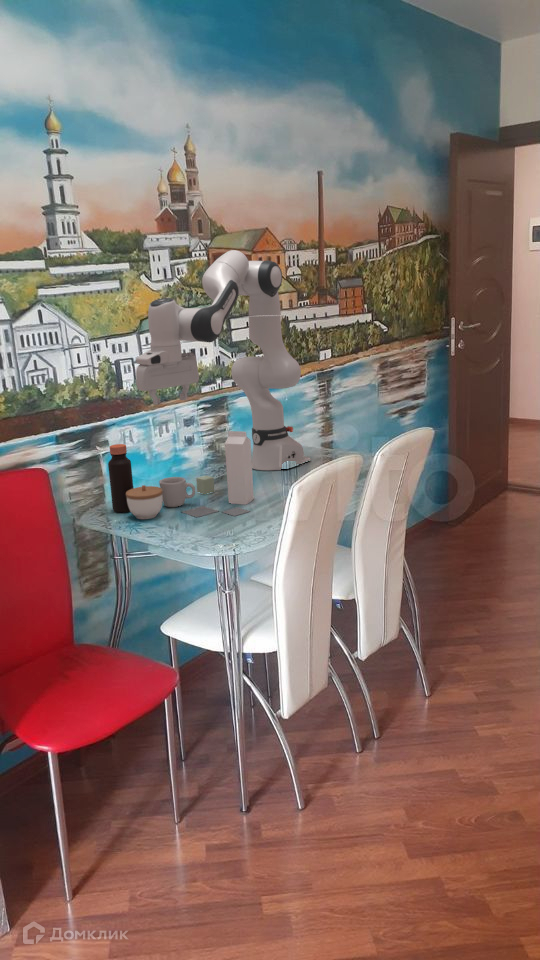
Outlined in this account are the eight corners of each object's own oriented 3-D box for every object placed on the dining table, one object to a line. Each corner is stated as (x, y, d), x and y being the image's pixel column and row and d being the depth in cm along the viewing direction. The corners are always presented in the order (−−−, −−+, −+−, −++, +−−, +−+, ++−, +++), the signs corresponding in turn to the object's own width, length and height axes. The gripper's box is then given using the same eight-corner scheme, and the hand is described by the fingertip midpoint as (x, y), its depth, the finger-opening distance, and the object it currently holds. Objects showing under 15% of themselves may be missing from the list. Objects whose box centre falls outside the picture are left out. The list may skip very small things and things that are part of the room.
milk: (236, 498, 259) (232, 429, 254) (254, 499, 257) (250, 429, 252) (228, 503, 254) (223, 433, 248) (246, 504, 252) (242, 433, 246)
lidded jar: (127, 523, 240) (124, 492, 237) (128, 512, 250) (125, 482, 248) (165, 519, 241) (162, 488, 239) (164, 509, 252) (161, 479, 249)
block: (207, 490, 270) (206, 475, 269) (214, 492, 267) (213, 477, 266) (197, 492, 268) (196, 478, 267) (204, 495, 265) (203, 480, 264)
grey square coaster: (237, 507, 249) (237, 507, 249) (250, 511, 245) (250, 511, 245) (221, 512, 245) (221, 511, 245) (234, 516, 241) (234, 515, 241)
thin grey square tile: (202, 506, 252) (202, 505, 252) (218, 511, 247) (218, 510, 247) (181, 512, 248) (181, 511, 248) (196, 517, 242) (196, 517, 242)
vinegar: (108, 512, 251) (101, 448, 246) (120, 506, 257) (113, 443, 252) (128, 513, 249) (122, 448, 244) (139, 507, 255) (133, 443, 250)
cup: (198, 501, 258) (196, 476, 256) (193, 508, 251) (191, 483, 249) (164, 501, 260) (162, 477, 258) (158, 509, 252) (156, 483, 250)
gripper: (189, 350, 252) (192, 396, 256) (131, 358, 240) (135, 406, 243) (201, 351, 248) (204, 397, 251) (142, 360, 235) (147, 408, 238)
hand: (170, 402), depth 247 cm, fingers open, 8 cm apart
